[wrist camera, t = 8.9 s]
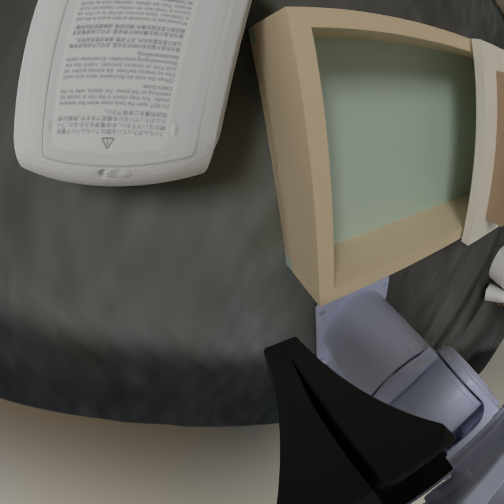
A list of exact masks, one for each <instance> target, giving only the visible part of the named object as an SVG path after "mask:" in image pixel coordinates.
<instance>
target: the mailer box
mask: <svg viewBox="0 0 504 504" xmlns="http://www.w3.org/2000/svg"><path fill="white" fill-rule="evenodd" d="M248 33H249V38H250V43H251V48H252V53H253V58H254V63H255V68H256V74H257V79H258V84H259V90H260V95H261V101H262V107H263V112H264V118H265V124H266V130H267V136H268V142H269V148H270V154H271V160H272V166H273V173H274V179H275V186H276V192H277V199H278V206H279V213H280V220H281V227H282V234H283V241H284V248H285V256H286V264H287V265H288V267H289V268H290V269H291V270H292V272H293V273H294V274H295V275H296V277H297V278H298V279H299V281H300V282H301V283H302V284H303V286H304V287H305V288H306V290H307V291H308V292H309V293H310V295H311V296H312V297H313V299H314V300H315V301H316V302H317V304H318V305H319V306H323V305H325V304H327V303H330V302H332V301H334V300H337V299H339V298H341V297H344V296H346V295H348V294H350V293H353V292H355V291H357V290H359V289H361V288H364V287H366V286H368V285H370V284H372V283H374V282H376V281H379V280H381V279H383V278H385V277H387V276H389V275H391V274H393V273H395V272H397V271H399V270H401V269H403V268H405V267H407V266H409V265H411V264H413V263H415V262H417V261H419V260H421V259H423V258H425V257H427V256H429V255H431V254H433V253H434V252H436V251H438V250H440V249H442V248H444V247H446V246H448V245H449V244H451V243H453V242H455V241H457V240H458V239H460V238H462V236H463V231H464V226H465V221H466V216H467V210H468V204H469V198H470V191H471V184H472V176H473V166H474V155H475V140H476V81H475V67H474V56H473V48H472V40H471V39H469V38H466V37H463V36H460V35H457V34H455V33H452V32H449V31H445V30H442V29H439V28H436V27H432V26H429V25H425V24H421V23H417V22H413V21H409V20H405V19H400V18H396V17H391V16H385V15H380V14H374V13H367V12H360V11H352V10H343V9H332V8H317V7H284V8H283V9H281V10H279V11H277V12H275V13H273V14H272V15H270V16H268V17H266V18H265V19H263V20H261V21H260V22H258V23H256V24H255V25H253V26H251V27H250V28H248Z"/></svg>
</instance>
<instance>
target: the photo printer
mask: <svg viewBox="0 0 504 504" xmlns="http://www.w3.org/2000/svg"><path fill="white" fill-rule="evenodd" d="M251 2H252V0H38V3H37V6H36V9H35V12H34V16H33V19H32V22H31V26H30V30H29V34H28V38H27V42H26V46H25V51H24V56H23V61H22V65H21V72H20V77H19V84H18V91H17V99H16V110H15V122H14V146H15V152H16V157H17V159H18V162H19V164H20V165H21V166H22V167H23V168H25V169H27V170H30V171H32V172H34V173H37V174H40V175H43V176H45V177H49V178H53V179H56V180H60V181H65V182H70V183H77V184H84V185H93V186H137V185H148V184H156V183H163V182H169V181H174V180H179V179H183V178H188V177H192V176H195V175H199V174H202V173H204V172H205V171H206V170H207V168H208V166H209V164H210V161H211V158H212V155H213V151H214V148H215V146H216V144H217V142H218V140H219V137H220V133H221V129H222V124H223V119H224V114H225V110H226V105H227V101H228V96H229V91H230V87H231V82H232V78H233V74H234V69H235V65H236V61H237V57H238V53H239V49H240V44H241V41H242V37H243V33H244V29H245V25H246V21H247V17H248V13H249V10H250V6H251Z"/></svg>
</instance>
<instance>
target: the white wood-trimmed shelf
mask: <svg viewBox="0 0 504 504" xmlns="http://www.w3.org/2000/svg"><path fill="white" fill-rule="evenodd" d="M501 289H502V290H504V288H502V287H501ZM496 303H497V304H498V305H499V306H500V307H503V306H504V302H503V303H500V302H496Z"/></svg>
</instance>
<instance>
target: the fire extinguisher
mask: <svg viewBox="0 0 504 504" xmlns="http://www.w3.org/2000/svg"><path fill="white" fill-rule="evenodd" d="M489 277H490V278H491V279H493V280H494V281H495V282H496V283H497V284H499V285H500V286H501V287H502V288H504V246H503V247H502V248H501V249H500V250H499V251H498V253H497V255H496V257H495V258H494V260H493V262H492V265H491V268H490V270H489ZM485 300H486V301H493V302H500V303H503V302H504V290H502V289H500V288H498V287H496V286H494V285H492V284H489V286H488V288H487V289H486V294H485Z"/></svg>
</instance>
